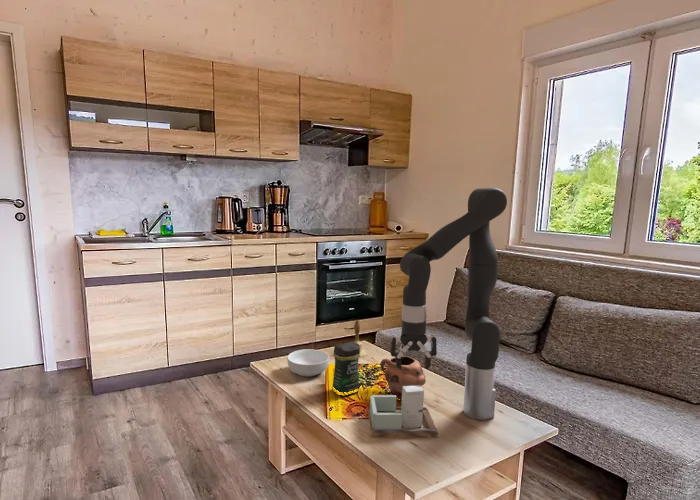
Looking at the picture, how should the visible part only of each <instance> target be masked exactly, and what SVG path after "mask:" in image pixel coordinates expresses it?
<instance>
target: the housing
mask: <svg viewBox="0 0 700 500" xmlns="http://www.w3.org/2000/svg"><path fill="white" fill-rule="evenodd" d="M396 407H397V399H396V395H391V394H386V395H385V394H382V395H381V394H378V395H377V394H375V395H374V394H373V395H370V396H369V408H370V414H371V420H372V426H373V429H375V430H401V428H402V426H403V425H402V413H377V411H396Z"/></svg>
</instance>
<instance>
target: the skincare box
mask: <svg viewBox="0 0 700 500" xmlns="http://www.w3.org/2000/svg"><path fill="white" fill-rule="evenodd" d="M424 397H425V391H424V389H423V388H422V386H403V387H402V401H401V406H400V407H401V413H402V426H403V428H422V427H423V419H424V418H423V407H424Z"/></svg>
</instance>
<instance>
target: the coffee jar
mask: <svg viewBox="0 0 700 500" xmlns="http://www.w3.org/2000/svg"><path fill="white" fill-rule="evenodd" d="M359 356H360V346H359V344H357V343H355V341H354V340H352V341H349V342H346V343H345V342H344V343H340V344H335V345H334V347H333V357H334V371H333V378H332V379H333V381H332V388H333V387H334V388H335V389H336V390H338V391H339V392H343V393H344V392H349V391H352V390H355V389H357V388H358V387H359V388H360V379H359V378H360V377H359V358H360V357H359Z"/></svg>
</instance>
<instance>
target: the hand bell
mask: <svg viewBox="0 0 700 500" xmlns="http://www.w3.org/2000/svg"><path fill="white" fill-rule="evenodd" d="M353 327H354V328H353V329H354V335H355V337H354V338H355V340H354V342H355V343H357V344H359V346H360V356H359V358H363V357H365V356H366V355H367V353H366V351H365V350H364V349H363V343H362V341H361V340H360V338H359V336H360V330H361V324H360V321H359V319H355V323H354V325H353Z"/></svg>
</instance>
